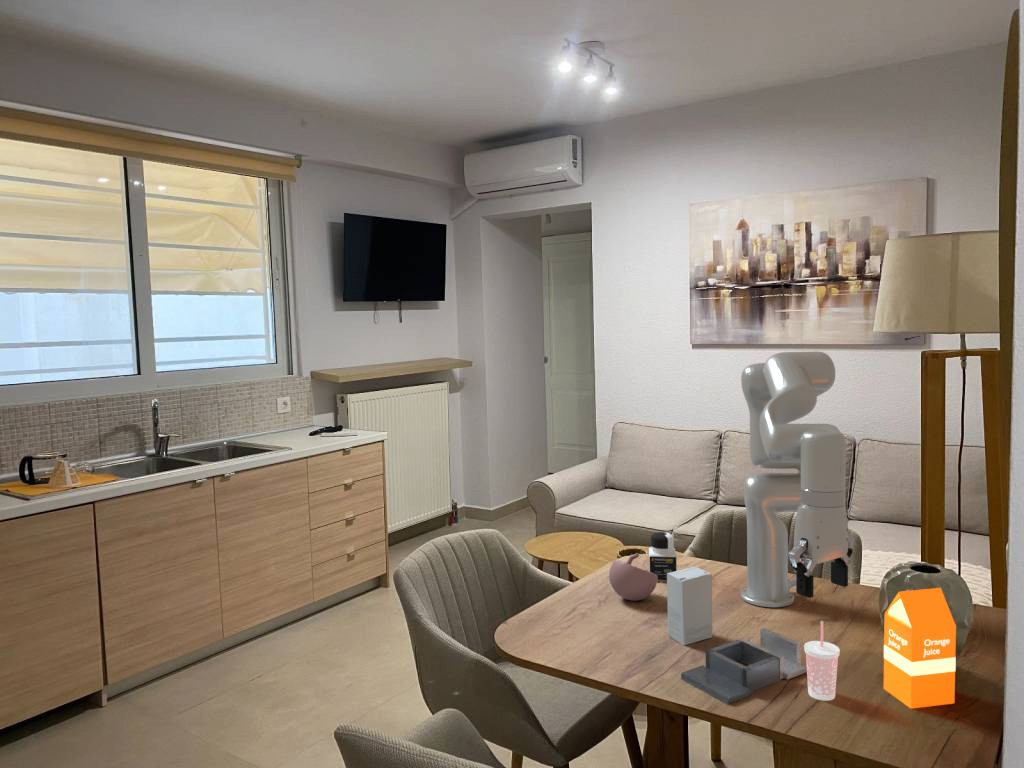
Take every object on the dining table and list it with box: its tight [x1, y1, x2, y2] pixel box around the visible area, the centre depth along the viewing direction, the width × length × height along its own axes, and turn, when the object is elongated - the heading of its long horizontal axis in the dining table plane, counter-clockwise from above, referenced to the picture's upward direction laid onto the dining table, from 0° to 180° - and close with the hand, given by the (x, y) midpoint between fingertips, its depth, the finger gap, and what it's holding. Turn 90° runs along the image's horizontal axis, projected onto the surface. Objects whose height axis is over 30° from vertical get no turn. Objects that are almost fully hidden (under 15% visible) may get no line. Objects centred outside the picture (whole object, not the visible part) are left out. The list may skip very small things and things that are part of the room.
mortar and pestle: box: [608, 552, 658, 602], centre depth 189 cm, size 12×12×11 cm
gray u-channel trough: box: [737, 627, 807, 681], centre depth 151 cm, size 7×12×5 cm, turn 31°
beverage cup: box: [803, 620, 841, 702], centre depth 139 cm, size 6×6×14 cm
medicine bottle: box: [648, 531, 678, 582], centre depth 205 cm, size 7×7×12 cm
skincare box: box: [666, 565, 713, 646], centre depth 165 cm, size 8×6×15 cm
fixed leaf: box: [680, 639, 780, 705], centre depth 146 cm, size 15×12×4 cm
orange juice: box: [883, 587, 957, 709], centre depth 137 cm, size 8×9×20 cm
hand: (822, 590), depth 138 cm, fingers open, 9 cm apart
